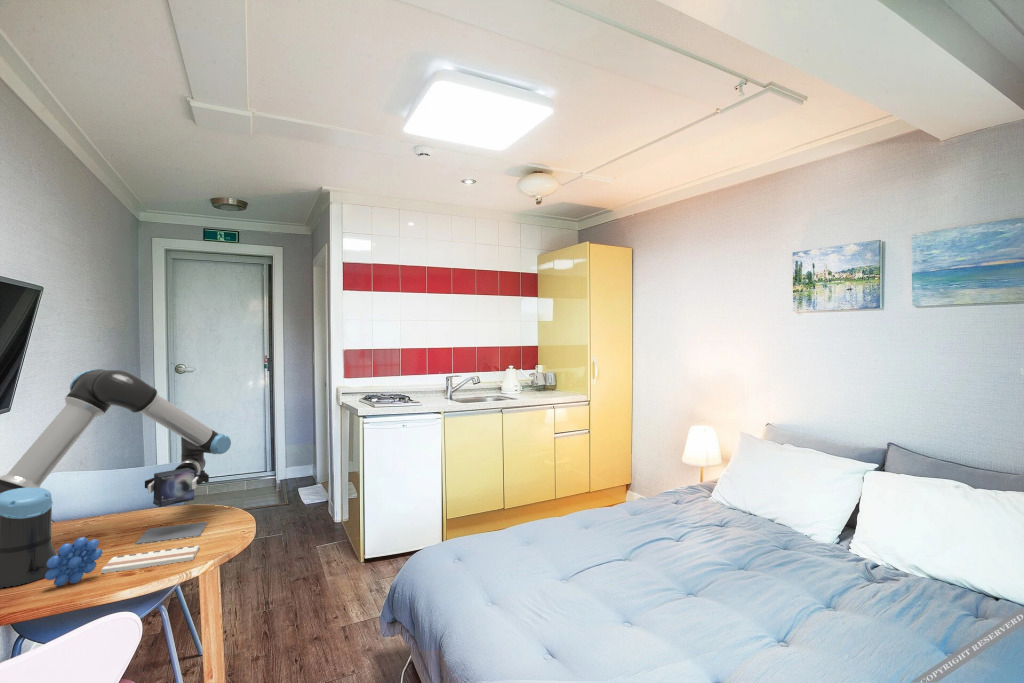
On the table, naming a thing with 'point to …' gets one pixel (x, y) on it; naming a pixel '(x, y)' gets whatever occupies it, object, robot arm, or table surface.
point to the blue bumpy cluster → (73, 561)
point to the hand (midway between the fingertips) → (171, 487)
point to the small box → (173, 487)
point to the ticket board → (150, 559)
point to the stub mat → (172, 532)
